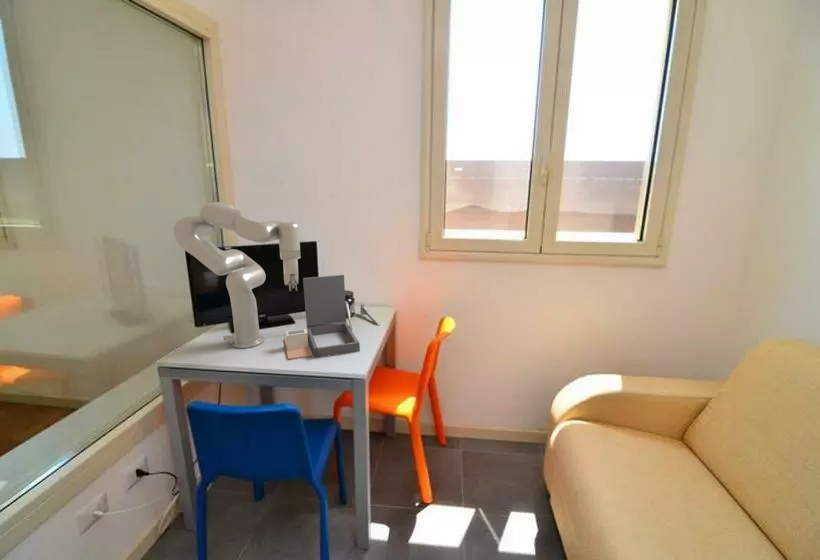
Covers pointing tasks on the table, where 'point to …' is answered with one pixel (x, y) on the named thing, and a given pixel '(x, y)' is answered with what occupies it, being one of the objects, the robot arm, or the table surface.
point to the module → (297, 339)
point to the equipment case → (328, 313)
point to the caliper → (365, 311)
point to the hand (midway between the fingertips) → (292, 297)
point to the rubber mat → (298, 352)
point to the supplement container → (350, 303)
